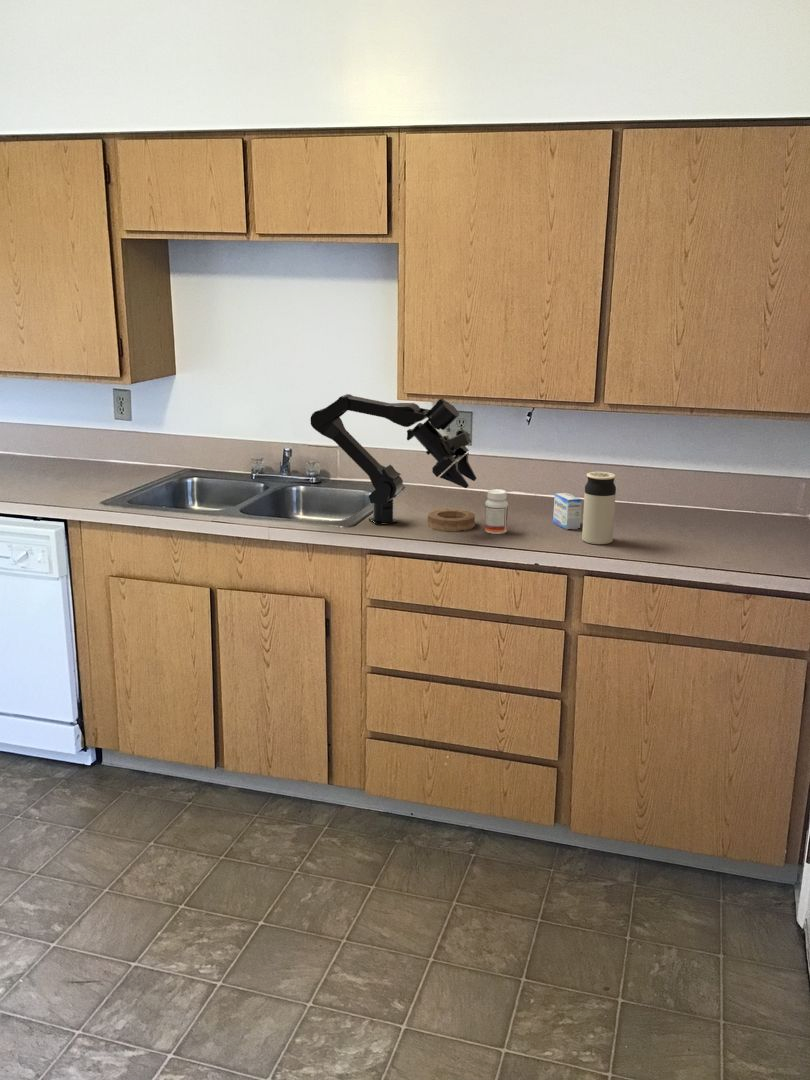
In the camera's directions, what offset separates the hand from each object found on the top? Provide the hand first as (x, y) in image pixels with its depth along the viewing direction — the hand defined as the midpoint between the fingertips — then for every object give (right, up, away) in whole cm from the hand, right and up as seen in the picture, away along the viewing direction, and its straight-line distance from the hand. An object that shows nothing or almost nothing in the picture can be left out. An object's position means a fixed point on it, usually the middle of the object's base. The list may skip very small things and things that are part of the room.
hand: (471, 483), depth 273 cm
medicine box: (+27, -12, +8) cm, 30 cm away
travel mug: (+33, -16, -7) cm, 37 cm away
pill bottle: (+7, -13, +2) cm, 15 cm away
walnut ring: (-5, -11, +8) cm, 15 cm away
